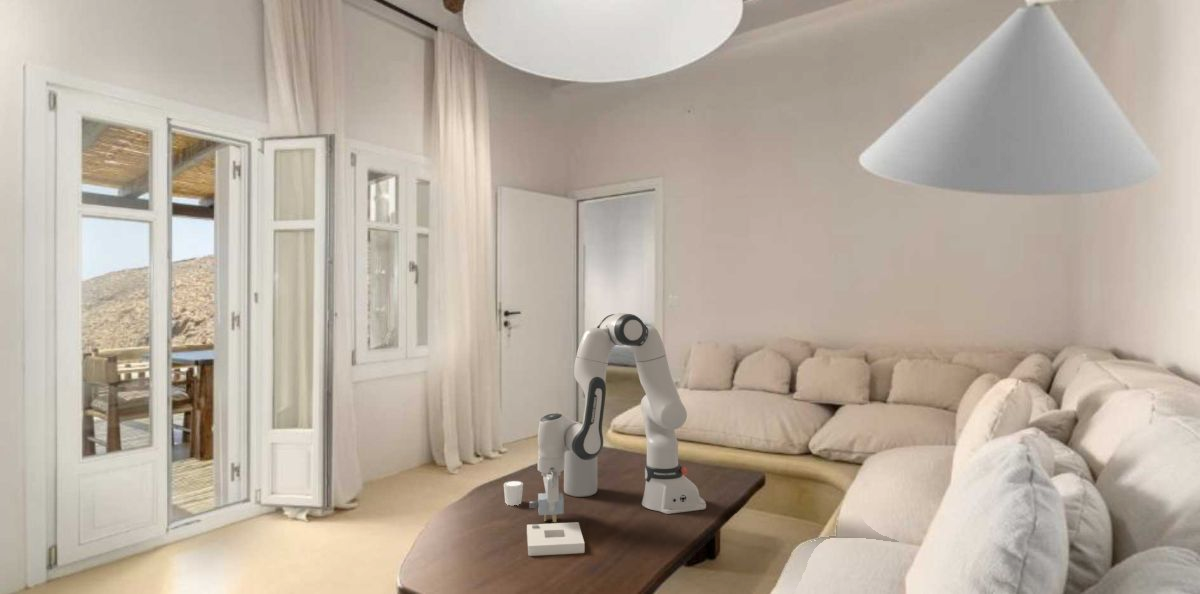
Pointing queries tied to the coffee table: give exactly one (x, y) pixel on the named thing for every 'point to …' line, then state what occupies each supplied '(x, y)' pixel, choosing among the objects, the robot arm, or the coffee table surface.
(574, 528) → the socket plate
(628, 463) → the coffee table surface
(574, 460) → the cylinder vase
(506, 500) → the shot glass
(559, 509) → the plug
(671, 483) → the robot arm
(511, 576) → the coffee table surface
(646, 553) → the coffee table surface
